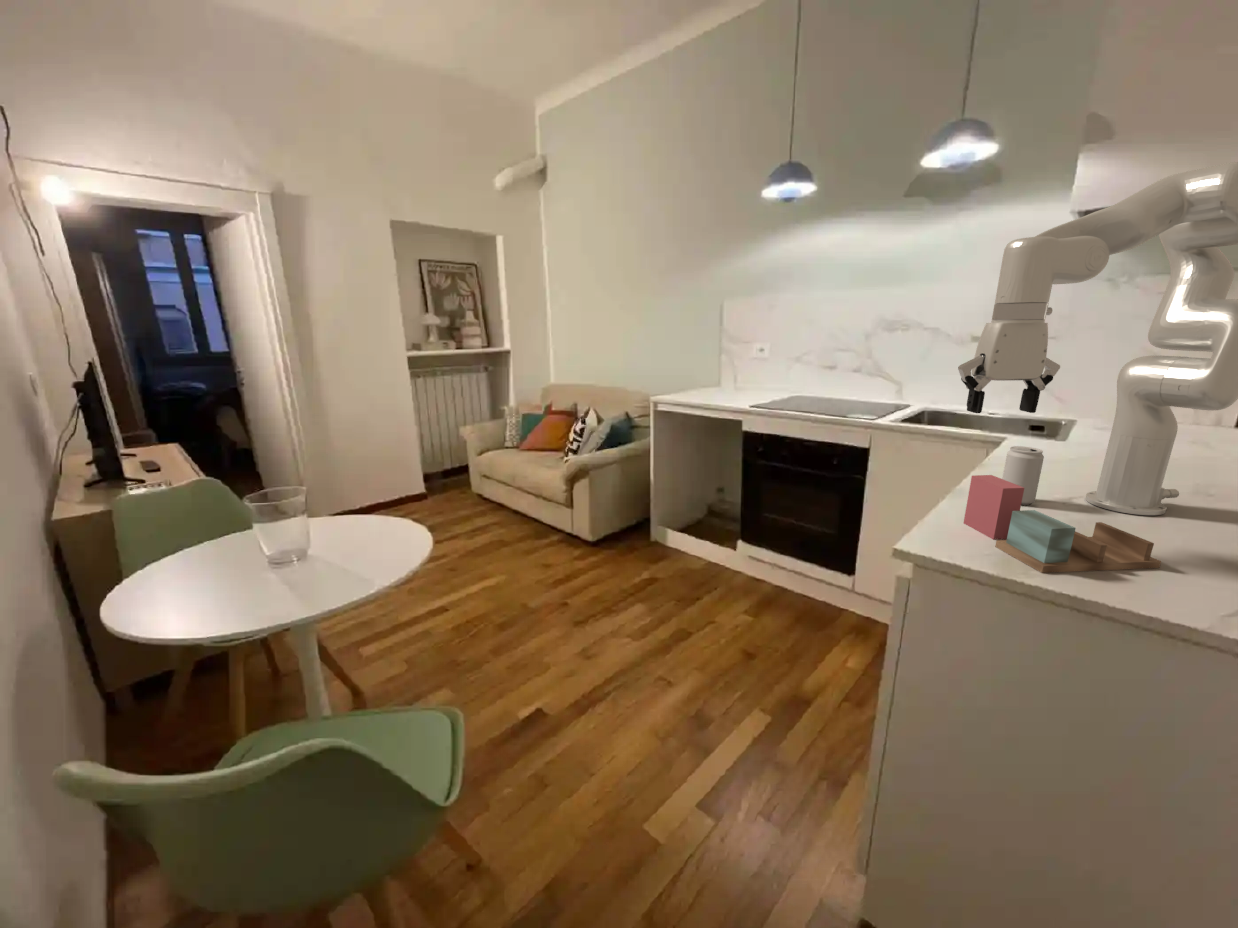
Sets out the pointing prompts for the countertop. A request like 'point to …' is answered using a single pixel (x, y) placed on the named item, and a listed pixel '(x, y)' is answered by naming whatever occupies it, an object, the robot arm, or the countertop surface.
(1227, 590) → the countertop surface
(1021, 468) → the beverage can
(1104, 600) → the countertop surface
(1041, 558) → the rack
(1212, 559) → the countertop surface
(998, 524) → the dusty red block
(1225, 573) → the countertop surface
